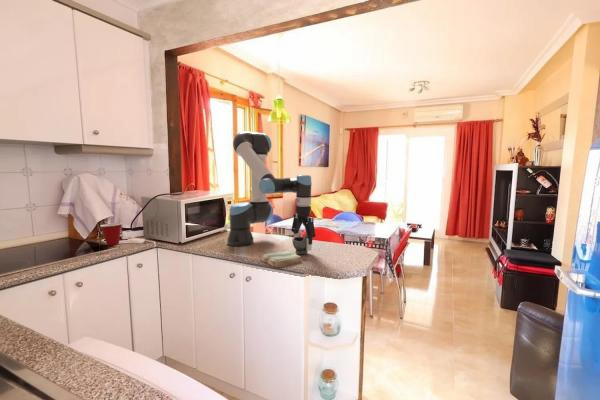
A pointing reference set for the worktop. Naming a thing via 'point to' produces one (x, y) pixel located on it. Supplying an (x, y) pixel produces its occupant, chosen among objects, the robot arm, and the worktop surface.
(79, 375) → the worktop surface
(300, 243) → the mortar and pestle
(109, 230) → the plastic cup
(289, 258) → the beige flat pad
